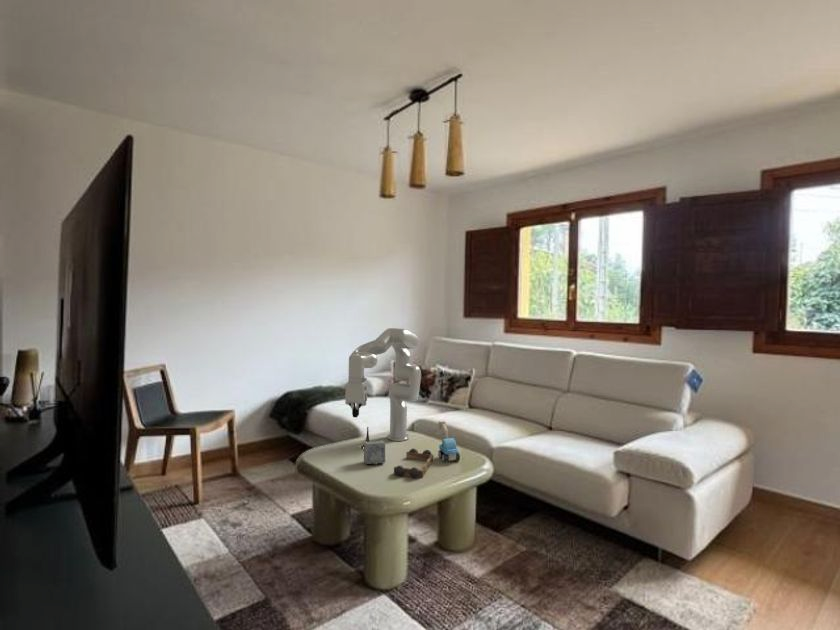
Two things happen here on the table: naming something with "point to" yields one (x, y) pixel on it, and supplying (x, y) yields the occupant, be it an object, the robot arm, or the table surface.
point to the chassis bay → (415, 471)
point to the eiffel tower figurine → (366, 438)
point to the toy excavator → (447, 446)
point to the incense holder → (374, 452)
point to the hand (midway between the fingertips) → (355, 416)
